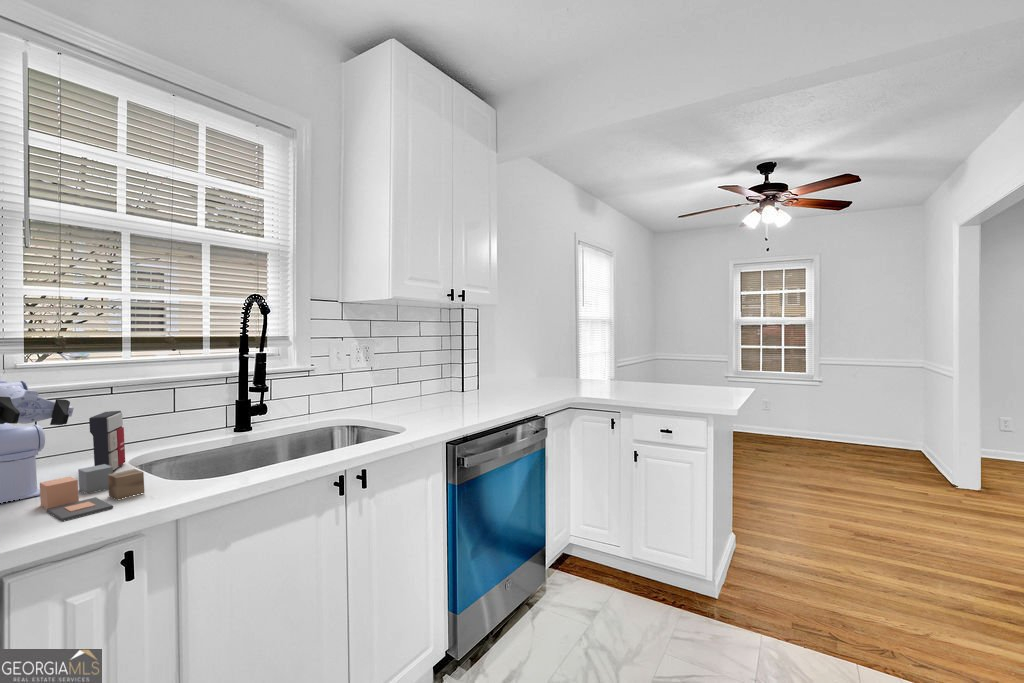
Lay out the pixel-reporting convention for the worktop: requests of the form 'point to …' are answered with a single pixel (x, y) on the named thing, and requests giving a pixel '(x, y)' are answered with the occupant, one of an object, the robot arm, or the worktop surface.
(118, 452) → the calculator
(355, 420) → the worktop surface
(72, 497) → the terracotta block
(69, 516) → the board
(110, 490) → the walnut block
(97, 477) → the slate block
